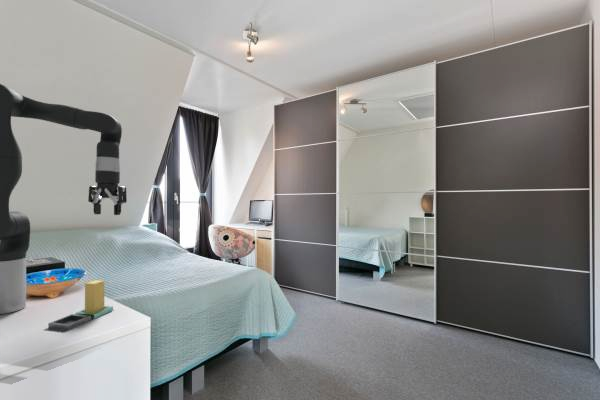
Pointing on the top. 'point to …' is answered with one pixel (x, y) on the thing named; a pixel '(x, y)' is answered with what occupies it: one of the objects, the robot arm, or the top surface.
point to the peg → (94, 296)
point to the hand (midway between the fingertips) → (107, 214)
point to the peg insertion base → (75, 320)
